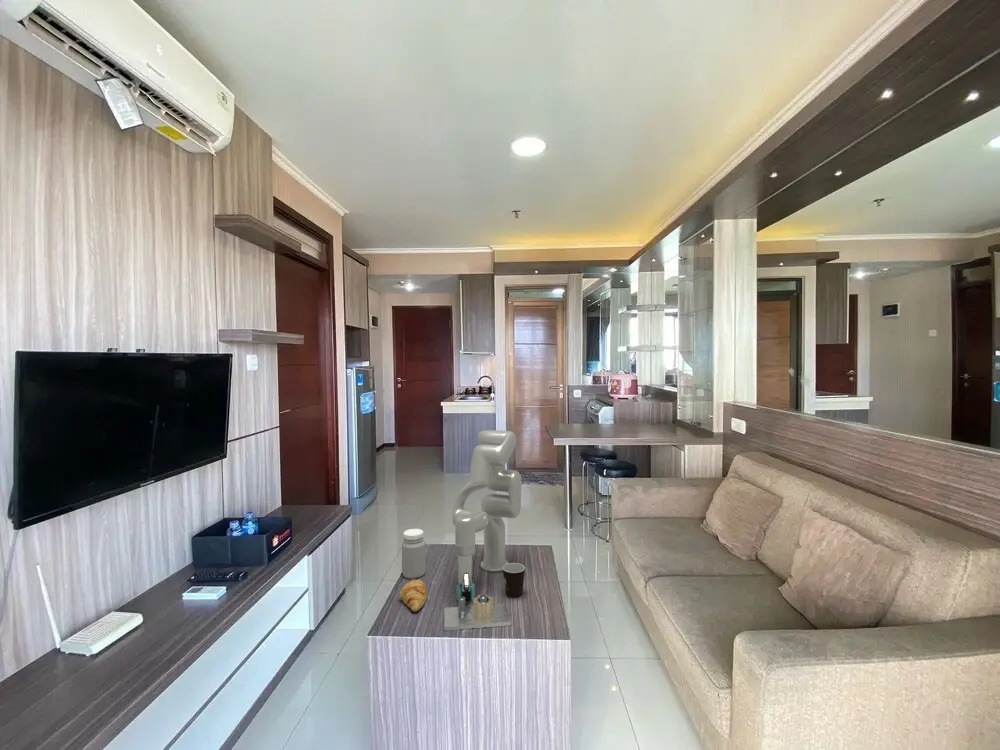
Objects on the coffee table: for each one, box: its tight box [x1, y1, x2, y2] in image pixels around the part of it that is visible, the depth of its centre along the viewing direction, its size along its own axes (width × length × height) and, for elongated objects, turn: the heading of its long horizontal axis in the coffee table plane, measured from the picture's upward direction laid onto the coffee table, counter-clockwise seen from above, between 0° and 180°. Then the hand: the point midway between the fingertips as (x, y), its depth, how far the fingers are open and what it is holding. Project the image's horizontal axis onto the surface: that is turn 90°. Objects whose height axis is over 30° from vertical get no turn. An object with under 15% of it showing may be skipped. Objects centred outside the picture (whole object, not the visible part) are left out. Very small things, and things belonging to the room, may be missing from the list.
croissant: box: [399, 578, 429, 613], centre depth 160 cm, size 21×10×8 cm, turn 16°
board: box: [443, 594, 511, 632], centre depth 147 cm, size 12×22×7 cm, turn 97°
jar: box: [401, 528, 426, 580], centre depth 181 cm, size 10×10×18 cm
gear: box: [456, 580, 476, 604], centre depth 161 cm, size 7×7×5 cm
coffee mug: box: [502, 562, 526, 599], centre depth 165 cm, size 12×9×10 cm
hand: (465, 596), depth 161 cm, fingers closed on gear, 6 cm apart
